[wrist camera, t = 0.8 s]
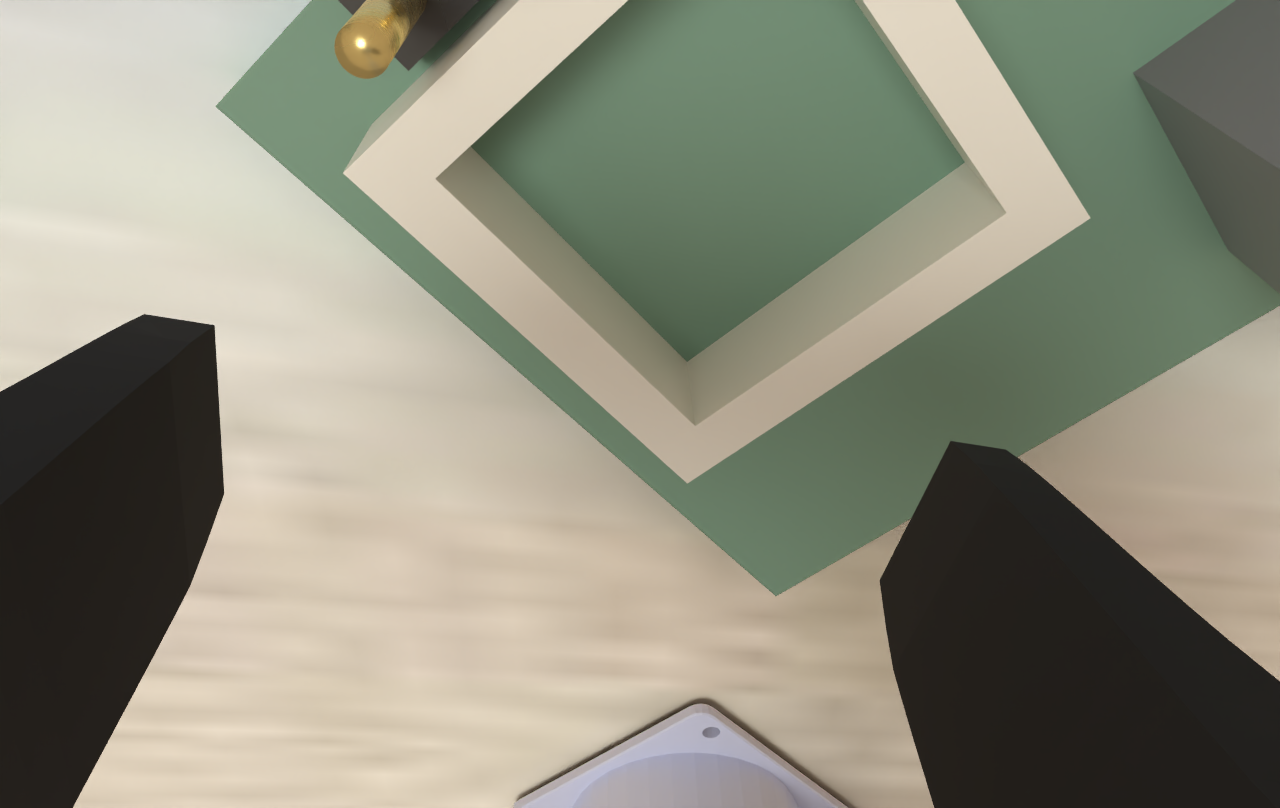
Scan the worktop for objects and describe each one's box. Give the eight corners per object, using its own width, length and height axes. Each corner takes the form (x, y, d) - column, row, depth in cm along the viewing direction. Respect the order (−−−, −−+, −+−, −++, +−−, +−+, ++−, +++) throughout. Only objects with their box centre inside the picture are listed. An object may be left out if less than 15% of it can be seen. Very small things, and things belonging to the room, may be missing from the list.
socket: (1040, 167, 17) (1090, 218, 15) (679, 417, 20) (686, 483, 18) (765, -267, 13) (790, -266, 12) (371, 124, 16) (343, 173, 15)
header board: (1478, 148, 18) (1518, 167, 17) (770, 567, 24) (775, 596, 24) (1129, -898, 11) (1171, -947, 10) (233, 87, 17) (215, 106, 16)
